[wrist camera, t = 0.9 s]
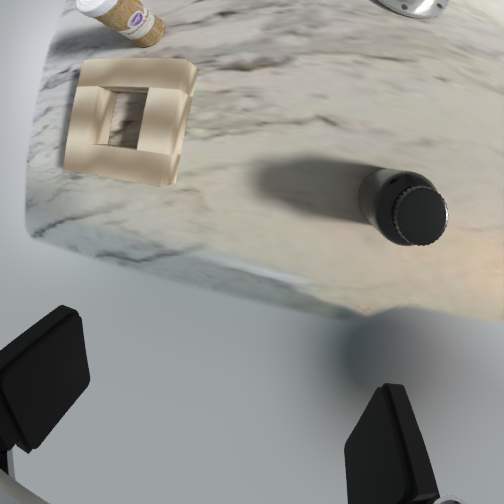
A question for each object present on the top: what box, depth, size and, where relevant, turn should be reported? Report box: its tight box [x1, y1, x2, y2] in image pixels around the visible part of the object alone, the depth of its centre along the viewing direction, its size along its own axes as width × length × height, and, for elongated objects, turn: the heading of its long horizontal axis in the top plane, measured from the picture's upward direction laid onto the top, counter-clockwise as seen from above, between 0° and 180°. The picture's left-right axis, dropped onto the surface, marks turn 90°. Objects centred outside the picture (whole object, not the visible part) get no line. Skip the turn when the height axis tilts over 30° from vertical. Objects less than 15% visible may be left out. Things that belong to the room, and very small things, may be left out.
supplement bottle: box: [358, 169, 448, 246], centre depth 27 cm, size 7×7×12 cm
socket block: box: [63, 58, 199, 187], centre depth 32 cm, size 14×14×4 cm
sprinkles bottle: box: [75, 0, 165, 47], centre depth 24 cm, size 5×5×14 cm
